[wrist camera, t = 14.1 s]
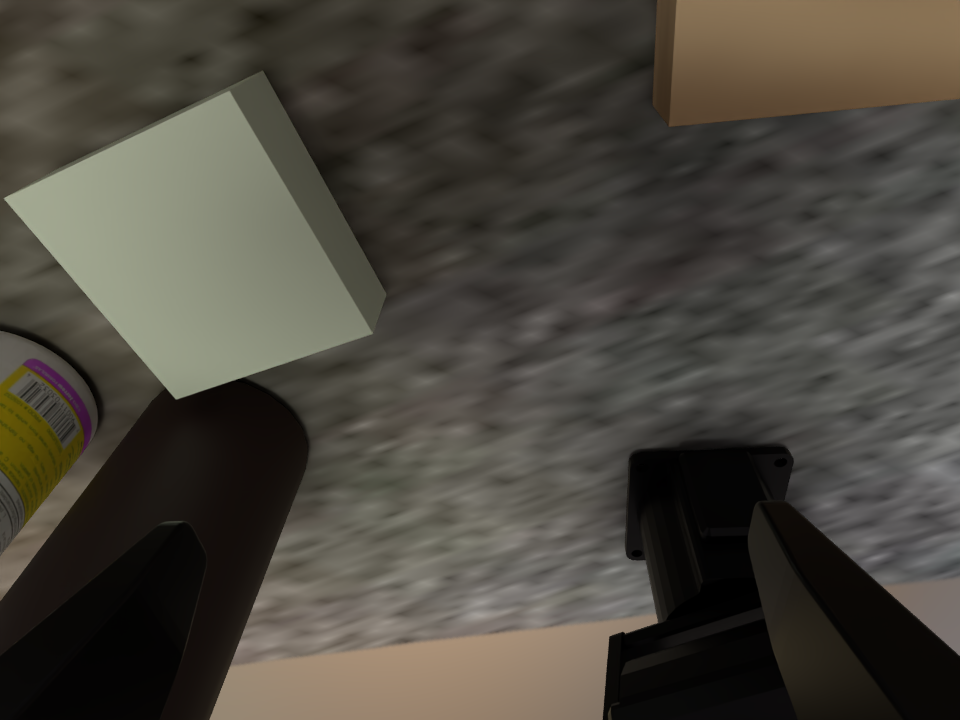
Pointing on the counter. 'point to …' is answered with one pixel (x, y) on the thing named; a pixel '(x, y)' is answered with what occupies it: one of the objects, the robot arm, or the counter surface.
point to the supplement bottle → (37, 427)
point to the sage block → (209, 241)
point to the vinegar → (180, 497)
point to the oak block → (801, 56)
